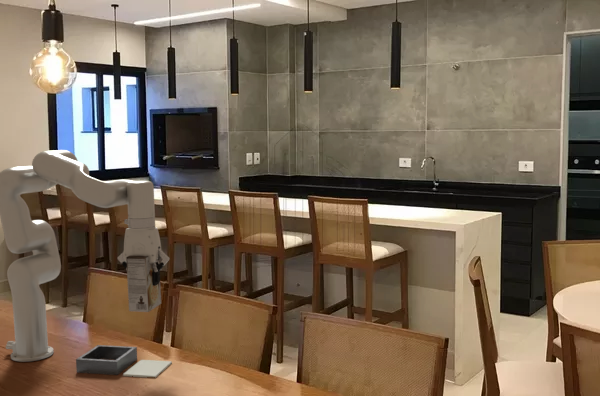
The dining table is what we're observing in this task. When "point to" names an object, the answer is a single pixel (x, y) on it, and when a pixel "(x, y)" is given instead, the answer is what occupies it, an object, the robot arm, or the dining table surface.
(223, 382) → the dining table surface
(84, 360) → the holder
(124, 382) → the dining table surface
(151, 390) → the dining table surface
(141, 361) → the placemat
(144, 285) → the coffee box
